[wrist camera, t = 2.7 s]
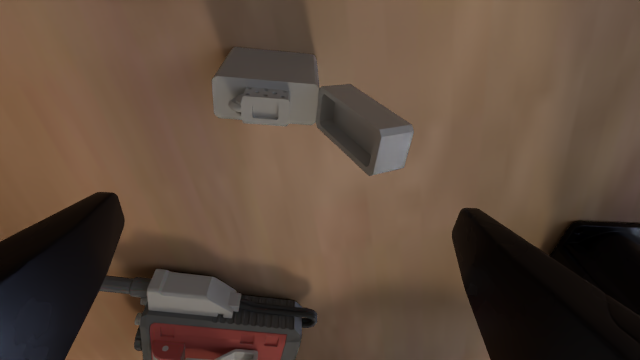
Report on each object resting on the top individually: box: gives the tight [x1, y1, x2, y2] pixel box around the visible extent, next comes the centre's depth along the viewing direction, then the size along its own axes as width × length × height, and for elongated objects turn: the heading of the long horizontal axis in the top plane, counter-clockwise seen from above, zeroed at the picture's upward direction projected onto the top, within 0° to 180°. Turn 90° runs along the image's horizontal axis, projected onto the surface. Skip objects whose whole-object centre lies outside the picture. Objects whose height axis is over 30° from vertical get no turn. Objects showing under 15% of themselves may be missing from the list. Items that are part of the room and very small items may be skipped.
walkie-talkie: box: [99, 269, 317, 360], centre depth 26 cm, size 9×4×20 cm
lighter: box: [212, 47, 414, 176], centre depth 14 cm, size 7×2×8 cm, turn 84°
